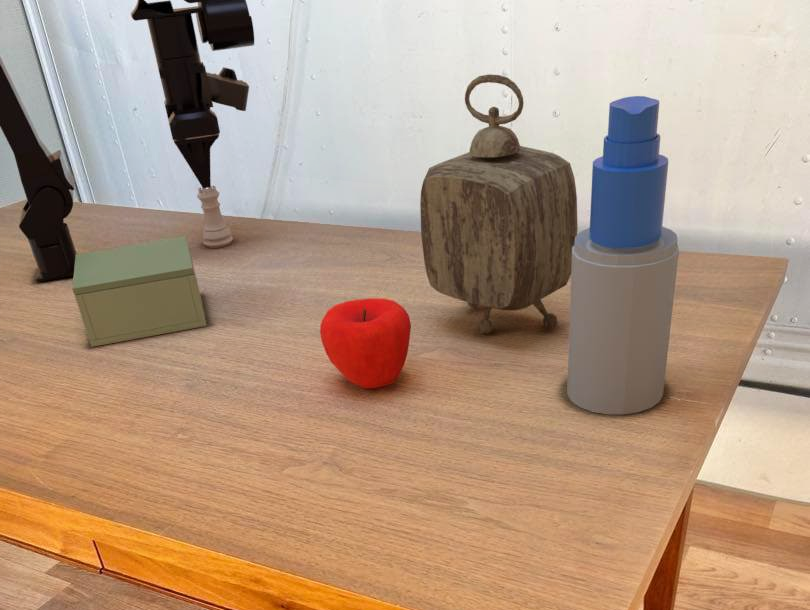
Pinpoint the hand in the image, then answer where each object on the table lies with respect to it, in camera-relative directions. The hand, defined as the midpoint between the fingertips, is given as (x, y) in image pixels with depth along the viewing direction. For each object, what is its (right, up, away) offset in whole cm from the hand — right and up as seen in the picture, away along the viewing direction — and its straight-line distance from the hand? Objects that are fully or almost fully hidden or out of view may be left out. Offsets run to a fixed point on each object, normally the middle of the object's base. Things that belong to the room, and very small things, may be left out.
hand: (204, 179), depth 121 cm
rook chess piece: (+1, -7, +6) cm, 9 cm away
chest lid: (-4, -19, -20) cm, 28 cm away
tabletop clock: (+39, -28, -27) cm, 55 cm away
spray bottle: (+49, -38, -41) cm, 74 cm away
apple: (+25, -36, -35) cm, 56 cm away
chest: (-3, -25, -16) cm, 30 cm away
